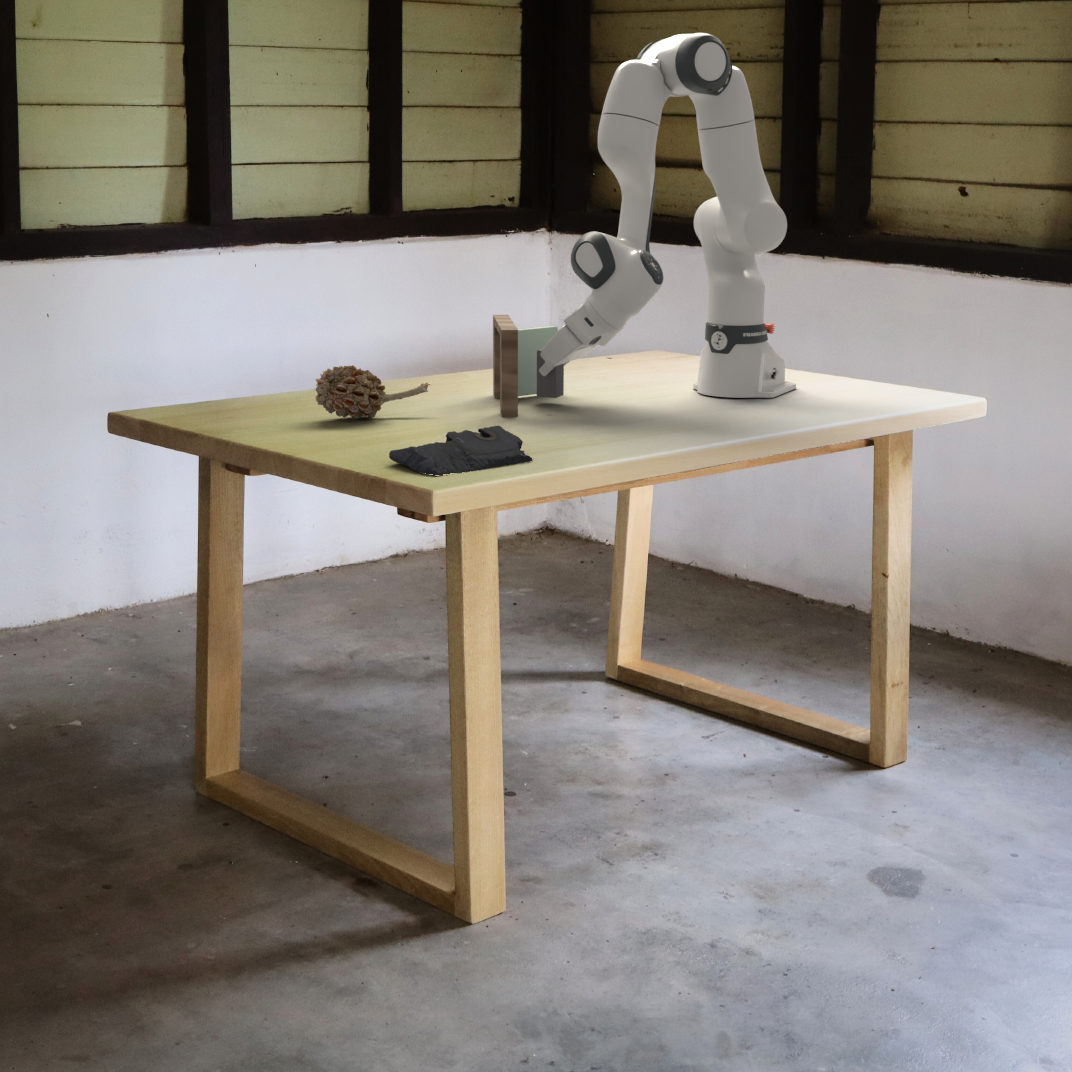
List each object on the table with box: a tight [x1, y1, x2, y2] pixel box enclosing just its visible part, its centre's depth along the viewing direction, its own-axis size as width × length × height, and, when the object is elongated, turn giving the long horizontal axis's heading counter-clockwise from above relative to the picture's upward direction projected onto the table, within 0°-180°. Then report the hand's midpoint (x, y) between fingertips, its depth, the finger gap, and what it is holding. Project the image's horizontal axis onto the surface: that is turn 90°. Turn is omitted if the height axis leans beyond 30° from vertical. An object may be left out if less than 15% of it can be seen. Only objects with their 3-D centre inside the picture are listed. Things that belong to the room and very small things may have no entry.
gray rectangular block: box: [536, 349, 565, 399], centre depth 292 cm, size 4×4×9 cm
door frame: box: [492, 314, 519, 418], centre depth 289 cm, size 25×3×16 cm, turn 5°
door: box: [517, 325, 559, 397], centre depth 300 cm, size 13×3×13 cm, turn 130°
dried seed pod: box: [315, 365, 431, 420], centre depth 277 cm, size 22×10×10 cm, turn 117°
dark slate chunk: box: [388, 425, 533, 475], centre depth 240 cm, size 15×22×5 cm
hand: (547, 371), depth 292 cm, fingers closed on gray rectangular block, 4 cm apart
